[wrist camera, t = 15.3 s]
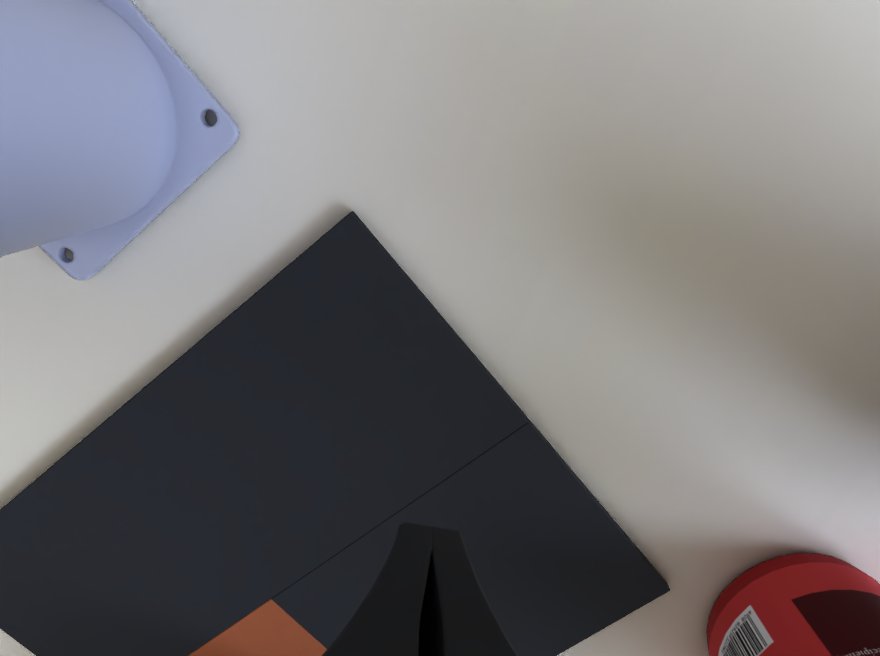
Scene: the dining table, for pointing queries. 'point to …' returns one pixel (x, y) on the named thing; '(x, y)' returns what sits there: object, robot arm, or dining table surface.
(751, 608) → the canned food
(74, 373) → the dining table surface
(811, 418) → the dining table surface
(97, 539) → the mat
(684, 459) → the dining table surface
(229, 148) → the robot arm
